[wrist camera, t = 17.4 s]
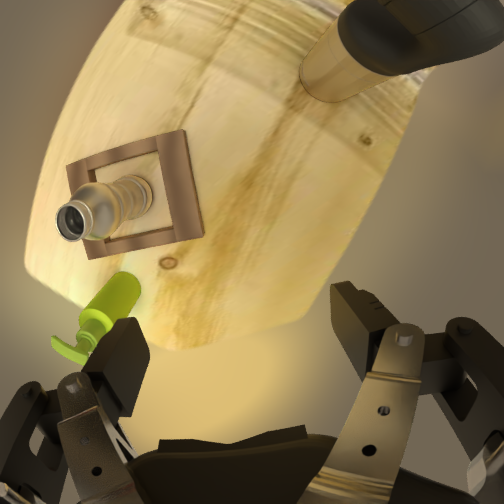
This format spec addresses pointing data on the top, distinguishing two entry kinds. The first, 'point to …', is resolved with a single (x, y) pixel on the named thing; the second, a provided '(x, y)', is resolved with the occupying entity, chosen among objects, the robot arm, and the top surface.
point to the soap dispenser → (101, 316)
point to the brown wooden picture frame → (176, 186)
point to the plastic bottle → (102, 208)
